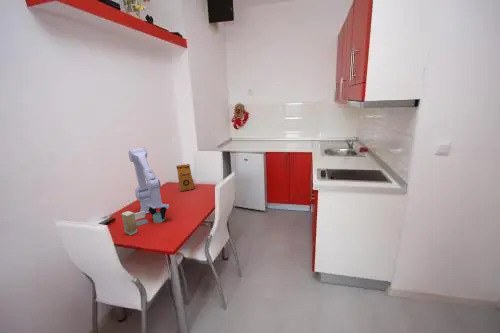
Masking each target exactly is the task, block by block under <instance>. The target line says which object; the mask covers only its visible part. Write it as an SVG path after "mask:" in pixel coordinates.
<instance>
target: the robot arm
mask: <svg viewBox="0 0 500 333" xmlns="http://www.w3.org/2000/svg"><path fill="white" fill-rule="evenodd" d="M128 158H129V161H130V162H132V163H133V166H134V170H135V174H136V178H137V179H136V180H137V183H138V186H137V187H136V188H135V198H136V200H137V201H139V204H140V208H139V212H142V211H145V215H146V214H148V213H150V215H151V216H152V217H153V214H155V213H156V212H157V209H159V211H158V212H160V213H161V216H162V219H164V218H166V213H167V212H166V211H167V210H168V209H170V204H169V203H168V204H166V203H163V201H162V195H161V190H160V188H161V180H160V179H159V178H158V177H157V176H156V175H155V172H154V170H153V168H150V165H149V162H148V150H147V148H145V147H140V148H134V149H129V150H128Z"/></svg>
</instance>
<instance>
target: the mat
mask: <svg viewBox="0 0 500 333" xmlns="http://www.w3.org/2000/svg"><path fill="white" fill-rule="evenodd" d="M146 224H149V221H148V220H147V218H144V219H143V218H142V219H140V220H136V226H137V227H140V226H143V225H146Z"/></svg>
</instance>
